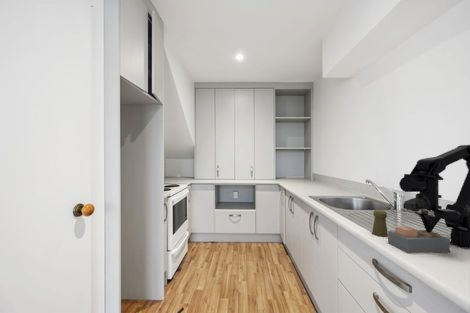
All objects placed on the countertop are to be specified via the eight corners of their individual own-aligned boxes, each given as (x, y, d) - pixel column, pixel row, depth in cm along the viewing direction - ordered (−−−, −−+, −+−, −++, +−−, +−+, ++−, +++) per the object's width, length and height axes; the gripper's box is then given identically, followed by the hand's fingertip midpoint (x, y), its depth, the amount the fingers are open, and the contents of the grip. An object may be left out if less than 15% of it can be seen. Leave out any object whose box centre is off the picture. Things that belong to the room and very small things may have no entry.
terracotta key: (407, 240, 92) (407, 226, 92) (417, 245, 87) (417, 229, 87) (395, 240, 91) (395, 226, 91) (405, 245, 87) (405, 229, 87)
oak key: (428, 244, 92) (428, 230, 92) (440, 249, 87) (440, 234, 87) (417, 244, 92) (417, 230, 92) (428, 249, 87) (428, 234, 87)
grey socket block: (425, 242, 95) (425, 230, 95) (449, 252, 85) (449, 238, 85) (388, 243, 94) (388, 230, 94) (407, 253, 84) (407, 239, 84)
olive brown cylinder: (380, 237, 101) (380, 211, 101) (368, 232, 107) (369, 208, 107) (391, 236, 102) (391, 211, 103) (379, 232, 108) (379, 208, 108)
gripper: (391, 188, 99) (391, 225, 98) (430, 195, 80) (430, 241, 80) (416, 188, 99) (416, 225, 99) (461, 195, 81) (461, 240, 80)
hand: (428, 232), depth 90 cm, fingers closed, pressing on oak key
